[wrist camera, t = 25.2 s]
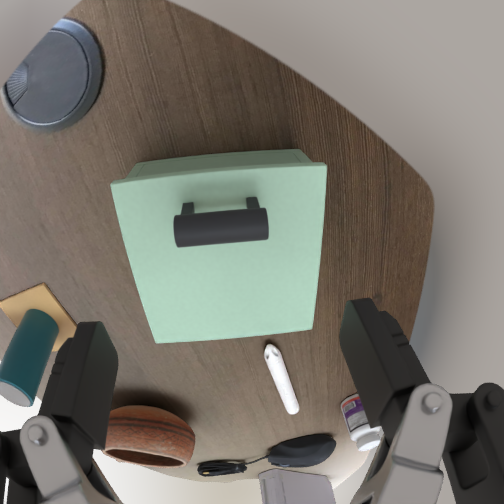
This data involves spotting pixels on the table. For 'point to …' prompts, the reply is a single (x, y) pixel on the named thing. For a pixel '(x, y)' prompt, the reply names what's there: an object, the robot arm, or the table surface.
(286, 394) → the marker
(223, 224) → the cool box lid
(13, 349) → the can
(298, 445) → the computer mouse
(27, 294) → the coaster
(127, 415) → the bowl
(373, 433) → the pill bottle
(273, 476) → the game console
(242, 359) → the table surface
